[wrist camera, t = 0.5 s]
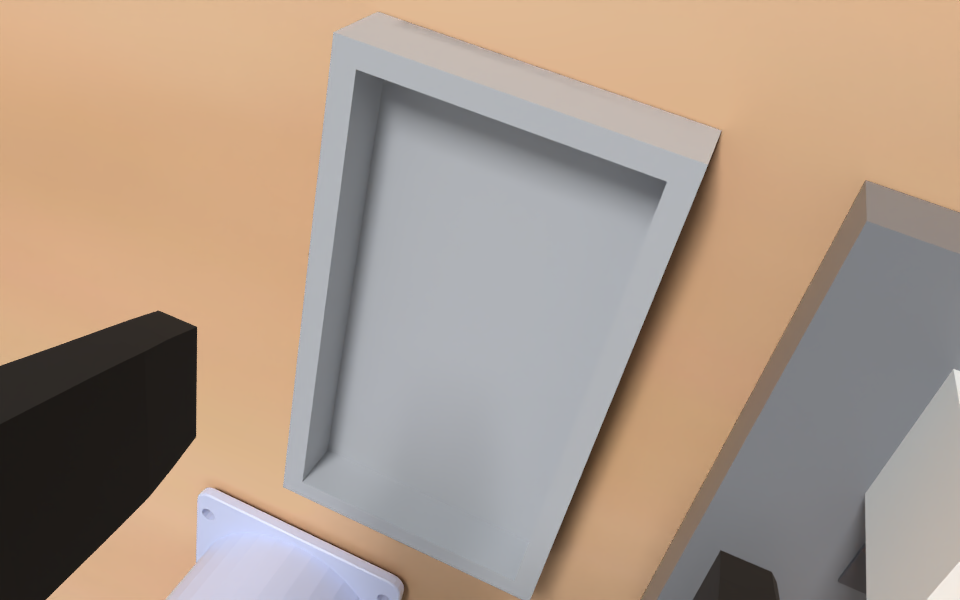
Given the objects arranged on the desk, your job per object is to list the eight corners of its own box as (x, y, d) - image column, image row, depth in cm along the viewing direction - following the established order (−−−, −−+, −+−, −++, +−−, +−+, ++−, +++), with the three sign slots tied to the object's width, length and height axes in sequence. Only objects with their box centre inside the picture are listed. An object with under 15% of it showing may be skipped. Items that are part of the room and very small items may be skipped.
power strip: (942, 744, 24) (949, 818, 22) (638, 604, 25) (622, 663, 24) (1359, 350, 15) (1422, 420, 14) (865, 180, 17) (867, 223, 15)
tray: (549, 552, 25) (528, 603, 24) (317, 445, 27) (283, 486, 25) (721, 130, 17) (708, 164, 16) (377, 11, 19) (333, 32, 17)
